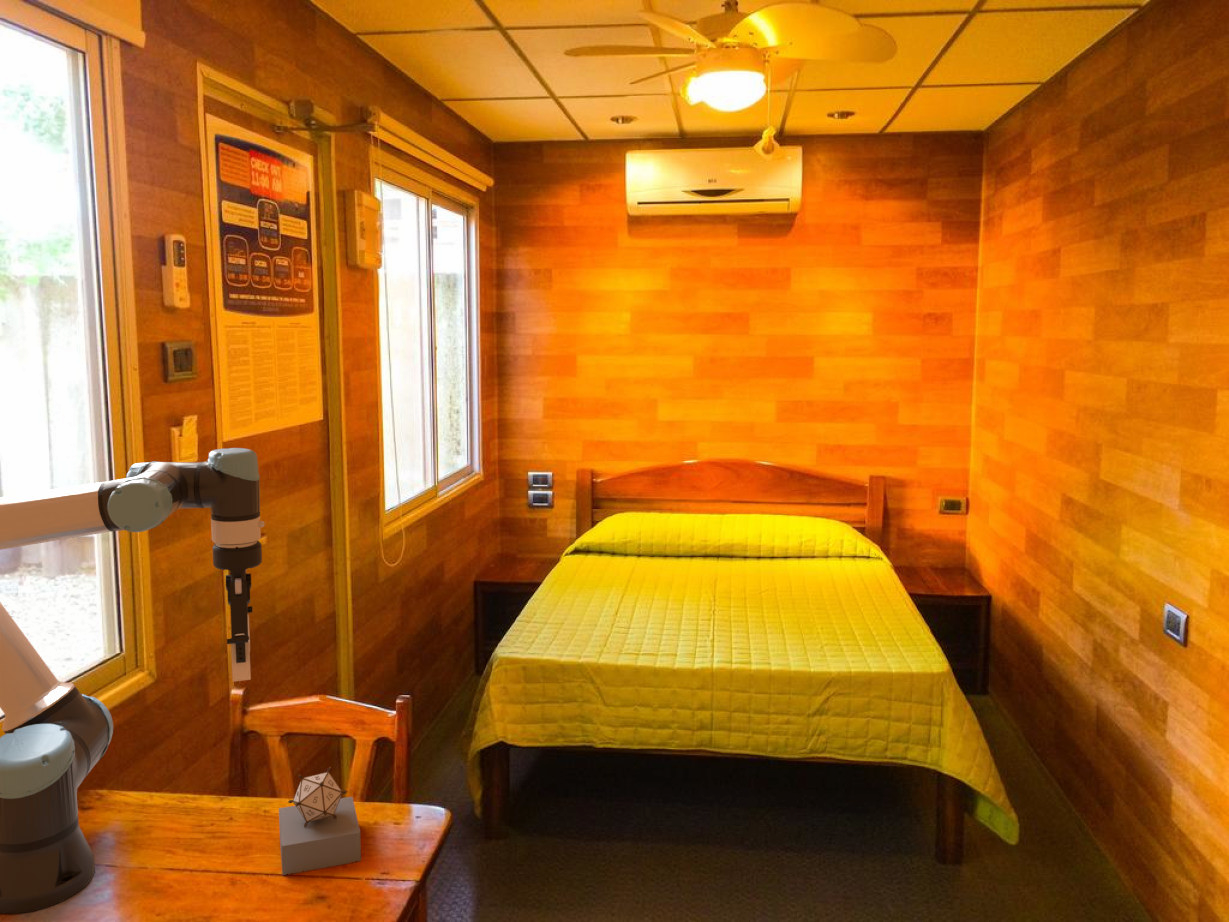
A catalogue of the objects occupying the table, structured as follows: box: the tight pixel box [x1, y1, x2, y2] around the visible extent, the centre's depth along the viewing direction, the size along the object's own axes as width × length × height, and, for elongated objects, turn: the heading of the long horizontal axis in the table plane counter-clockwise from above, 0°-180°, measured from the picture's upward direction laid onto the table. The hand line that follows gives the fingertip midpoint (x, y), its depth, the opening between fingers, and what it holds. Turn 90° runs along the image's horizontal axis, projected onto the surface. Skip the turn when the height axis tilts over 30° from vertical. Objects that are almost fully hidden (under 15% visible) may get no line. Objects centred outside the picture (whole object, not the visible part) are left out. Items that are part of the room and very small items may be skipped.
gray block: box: [278, 796, 362, 876], centre depth 154 cm, size 12×12×5 cm
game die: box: [287, 766, 349, 828], centre depth 154 cm, size 9×8×10 cm
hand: (241, 665), depth 157 cm, fingers open, 13 cm apart
